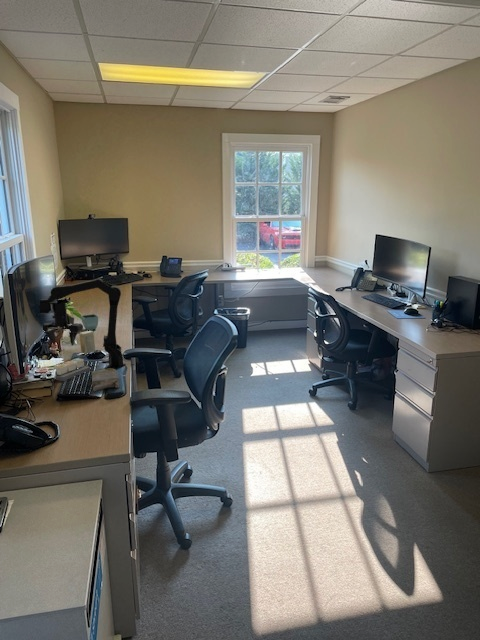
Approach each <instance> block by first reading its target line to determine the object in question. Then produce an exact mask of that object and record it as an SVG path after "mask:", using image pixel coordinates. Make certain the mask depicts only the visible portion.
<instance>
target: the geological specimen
mask: <svg viewBox="0 0 480 640" xmlns="http://www.w3.org/2000/svg"><path fill="white" fill-rule="evenodd" d="M91 383H92V389H93V390H92V391H93V392H96V391H99V390H105V389H109V388H117V389H118V388H120V382H119V375H118V372H117V369H115V368H111V367H108V368H107V367H106V368H102V369H98V370H93V371H91Z"/></svg>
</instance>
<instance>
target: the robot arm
mask: <svg viewBox="0 0 480 640" xmlns="http://www.w3.org/2000/svg"><path fill="white" fill-rule="evenodd" d="M93 289H99V290H100V291H102V292H104V293H105V294H107V295H108V301H109V314H108V324H107V325H108V327H107V333H106V335H103V344H102V347H103V348H104V351H105V352H106V353H108V365H107V367H108V368H110V369H111V368H112V369H115V370H117V369H119V368H121V367H123V366H126V363H124V356H123V355H124V354H123V353H122V346H120V344H118V341H117V335H116V334H117V333H116V330H117V329H116V328H117V318H118V306H119V302H120V299H121V296H122V289H121V288H120V287H119V286H117V285H114V284H113V285H112V284H111V283H109V282H107V281H105V280H103V279H101V278H95V279H90V280H88V281H87V280H86V281H83V282H78V283H74V284H58V285H57V284H56V285H55V286H54V287H52V289H50V296H48V298H43V299H41V298H40V299H41V300H40V306H39V308H40V313H41V314H40V315H46V314H50V313H51V312H52V311H53V315H52V319H53V320H54V322H45V323H43V324H44V325H43V330H44V331H45V332H44V331H43V332H44V333H43V334H45V335H46V336H47V337H48V339H49V340H50V343H52V345H54V346H55V345H56V342H57V341H56V335H55V332H56V330H69V332H68V335H69V339H70V345H71V346H74V345H75V341H76V337H77V335H78V333H80V332H81V331H83V330H84V325H83V323H75V317H73V316H70V315H69V314H70V313H68V312H67V311H68V310H67V304H69V303H70V302H71V301H70V299H68V298H67V297H68V296H71V295H72V294H75V293H79V292H80V293H81V292H84V291H88V290H93ZM63 298H64V299H63ZM56 300H57V301H56ZM107 367H106V368H107Z"/></svg>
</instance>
